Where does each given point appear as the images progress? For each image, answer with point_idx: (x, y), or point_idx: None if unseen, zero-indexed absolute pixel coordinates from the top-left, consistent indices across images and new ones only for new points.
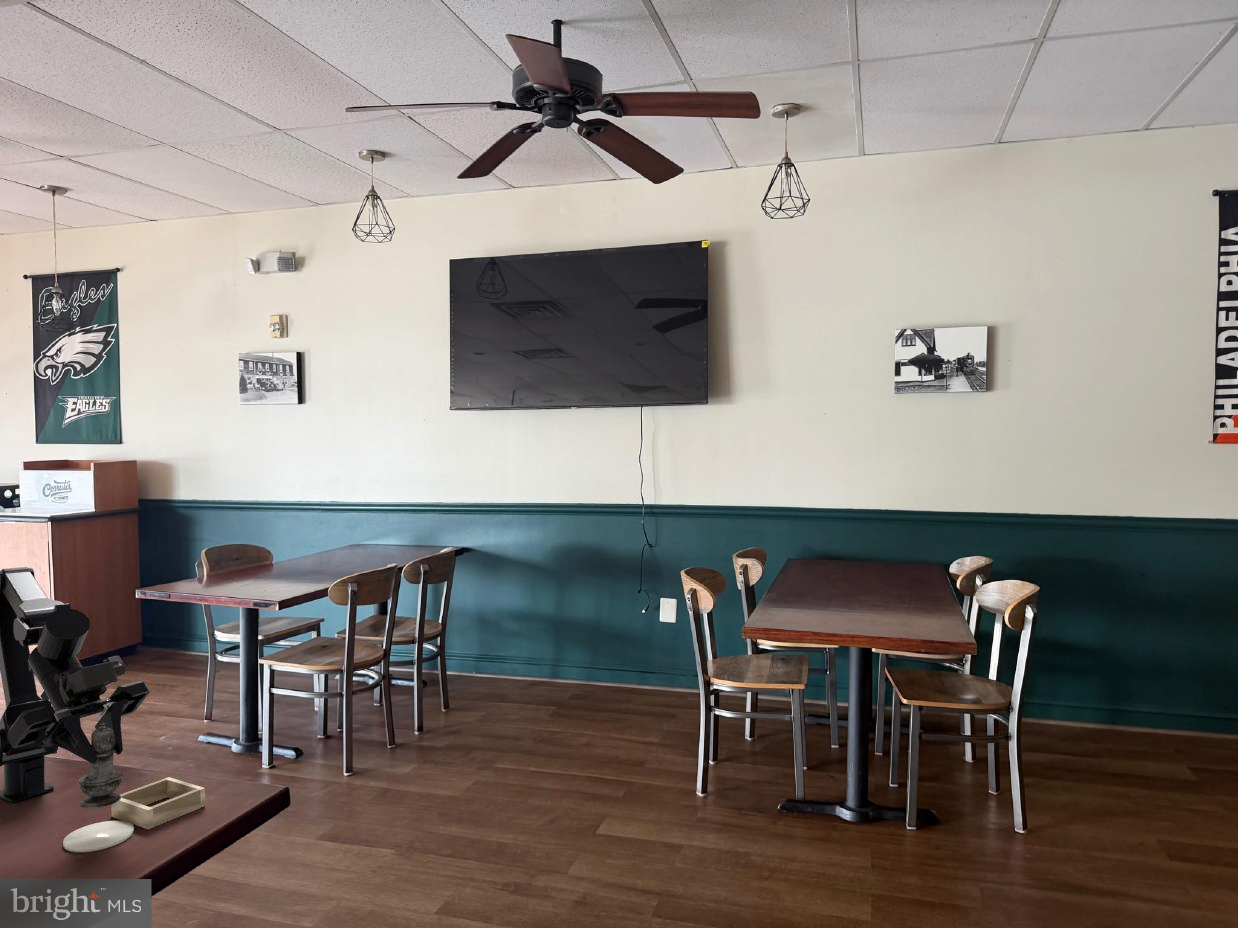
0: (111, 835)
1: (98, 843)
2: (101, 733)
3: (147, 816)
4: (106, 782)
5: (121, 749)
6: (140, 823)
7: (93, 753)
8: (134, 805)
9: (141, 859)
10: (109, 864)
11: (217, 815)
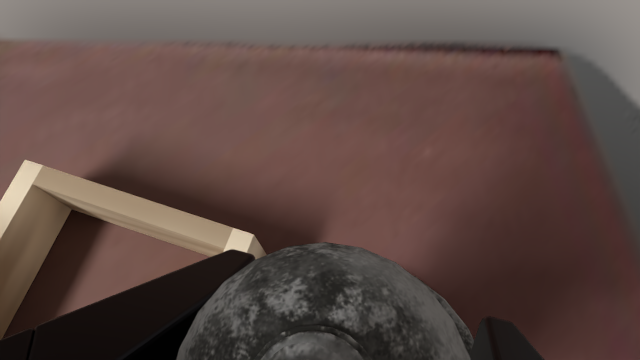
0: None
1: None
2: (436, 309)
3: (257, 246)
4: (422, 282)
5: (243, 252)
6: None
7: (514, 348)
8: None
9: (464, 123)
10: (521, 195)
11: (141, 101)
